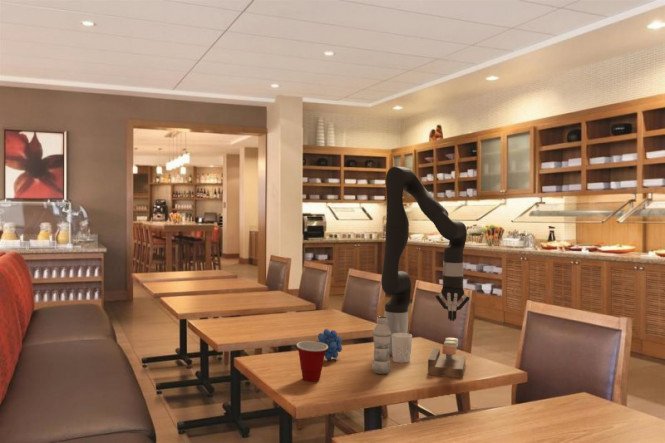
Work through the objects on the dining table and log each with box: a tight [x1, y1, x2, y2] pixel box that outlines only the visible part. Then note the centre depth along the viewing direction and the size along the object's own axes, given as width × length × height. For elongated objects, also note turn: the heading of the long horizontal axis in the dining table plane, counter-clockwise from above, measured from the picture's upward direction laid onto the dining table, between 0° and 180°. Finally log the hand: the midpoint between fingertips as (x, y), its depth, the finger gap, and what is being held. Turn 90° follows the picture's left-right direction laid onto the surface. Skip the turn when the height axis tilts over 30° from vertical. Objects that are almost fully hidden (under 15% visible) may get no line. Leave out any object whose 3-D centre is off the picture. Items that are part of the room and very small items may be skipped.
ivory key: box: [444, 337, 459, 348], centre depth 217 cm, size 5×5×4 cm
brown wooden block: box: [427, 347, 466, 379], centre depth 212 cm, size 12×18×5 cm, turn 164°
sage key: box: [443, 341, 458, 351], centre depth 211 cm, size 5×5×4 cm
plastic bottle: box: [371, 315, 391, 375], centre depth 205 cm, size 6×7×20 cm
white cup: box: [392, 332, 413, 364], centre depth 223 cm, size 8×8×10 cm
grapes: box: [316, 328, 343, 361], centre depth 222 cm, size 12×7×12 cm, turn 123°
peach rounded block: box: [442, 344, 457, 359], centre depth 206 cm, size 5×5×4 cm
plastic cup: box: [296, 340, 328, 383], centre depth 197 cm, size 11×11×12 cm
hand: (452, 320), depth 217 cm, fingers closed
